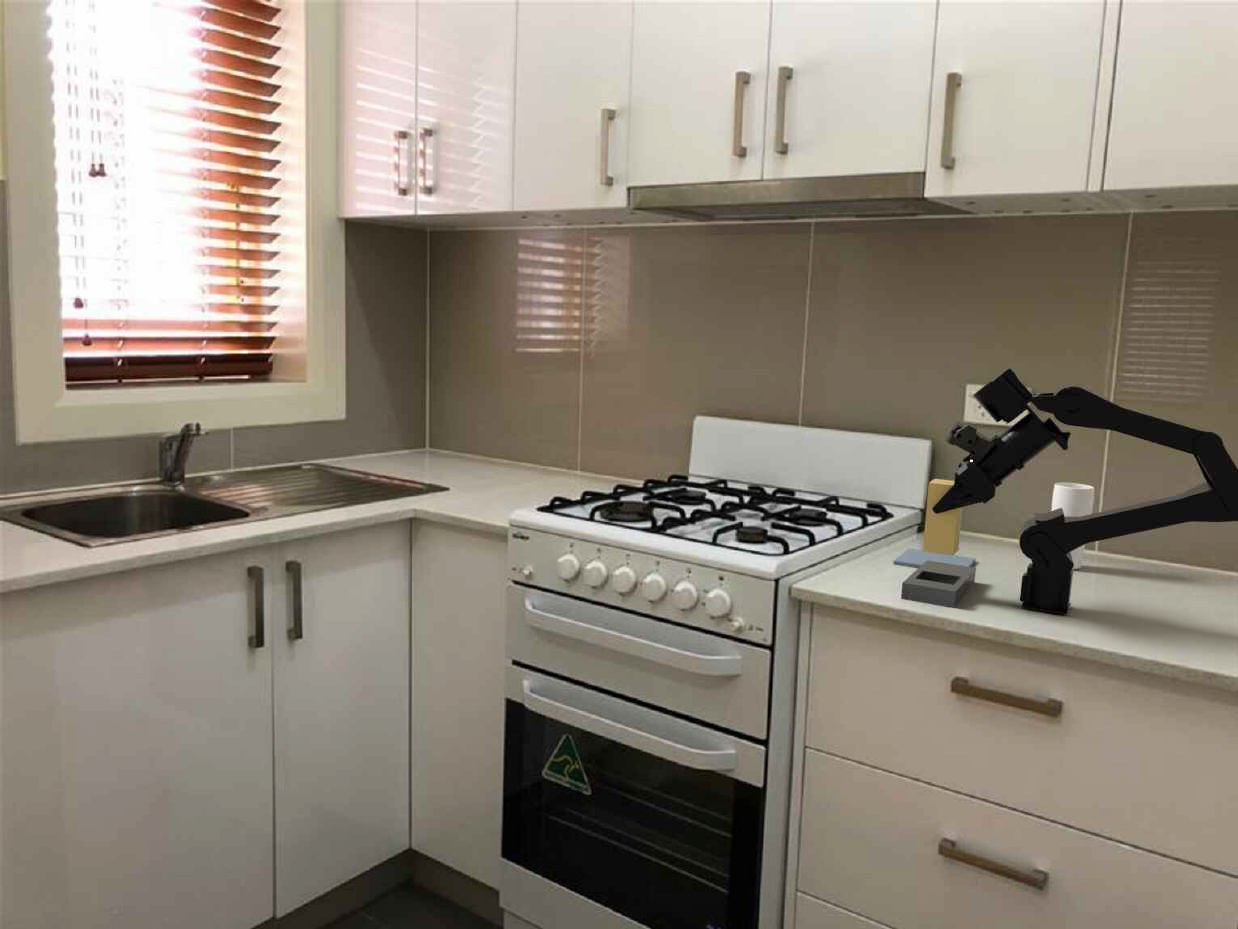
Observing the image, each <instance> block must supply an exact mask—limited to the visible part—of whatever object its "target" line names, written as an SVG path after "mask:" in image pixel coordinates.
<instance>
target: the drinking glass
mask: <svg viewBox="0 0 1238 929" xmlns="http://www.w3.org/2000/svg"><path fill="white" fill-rule="evenodd" d="M1095 490H1096V489H1095V487H1094V486H1092V485H1090V484H1089V485H1088V484H1082V483H1076V482H1056V483H1054V486H1053V492H1052V498H1051V510H1050V512H1051V511H1054V510H1056V509H1059V508H1062V509H1063V512H1064V516H1068V517H1080V516H1085V515H1090V514H1093V510H1094V509H1093V508H1094V501H1095ZM1085 547H1086V544H1085V545H1083V546H1081V547H1079V548H1077V549H1075V550H1073V551H1071V556H1072V559H1073V563H1074V567H1073V568H1072V570H1073V571H1074V570H1078V569H1080V568H1081V567H1082V564H1083V559H1084V558H1083V557H1084V552H1085Z"/></svg>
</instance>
